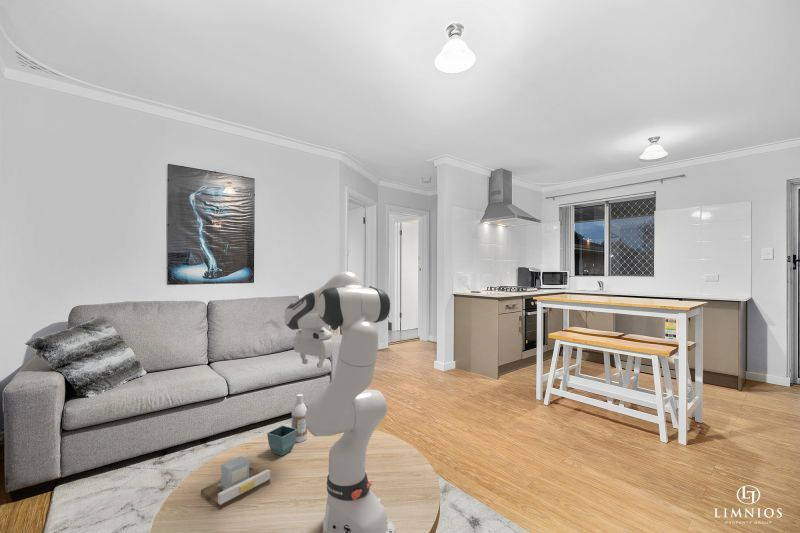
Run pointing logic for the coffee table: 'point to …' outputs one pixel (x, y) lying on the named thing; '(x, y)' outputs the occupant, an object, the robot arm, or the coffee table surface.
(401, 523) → the coffee table surface
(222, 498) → the price rail
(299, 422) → the bath foam
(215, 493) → the shelf board
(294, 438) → the flower pot
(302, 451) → the coffee table surface
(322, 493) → the coffee table surface
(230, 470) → the product carton
